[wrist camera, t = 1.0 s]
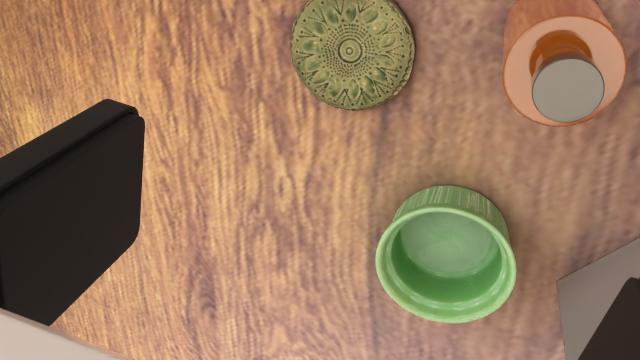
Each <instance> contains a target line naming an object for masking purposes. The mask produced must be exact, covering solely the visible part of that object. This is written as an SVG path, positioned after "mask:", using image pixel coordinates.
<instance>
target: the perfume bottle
mask: <svg viewBox="0 0 640 360" xmlns="http://www.w3.org/2000/svg"><path fill="white" fill-rule="evenodd" d="M630 277H634V278H637V279H639V277H640V238H638V239H636V240H634V241H632V242H630V243H628V244H626V245H624V246H623V247H621V248H619V249H617V250H615V251H613V252H611V253H609V254H607V255H606V256H604V257H602V258H600V259H598V260H596V261H594V262H592V263H590V264H589V265H587V266H585V267H583V268H581V269H579V270H577V271H575V272H573V273H572V274H570V275H568V276H566V277H564V278H562V279H560V280H558V281H556V282H557V290H558V299H559V308H560V316H561V325H562V333H563V342H564V351H565V359H566V360H578V358H579V357H580V355H581V353H582V352H583V350H584V348H585V347H586V345H587V344H588V342H589V340H590V339H591V337H592V335H593V334H594V332H595V331H596V329H597V327H598V326H599V324H600V322H601V321H602V319H603V318H604V316H605V314H606V313H607V311H608V309H609V308H610V306H611V305H612V303H613V301H614V300H615V298H616V296H617V295H618V293H619V292H620V290H621V288H622V287H623V285H624V283H625V282H626V281H627V280H628V279H629V278H630Z"/></svg>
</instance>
